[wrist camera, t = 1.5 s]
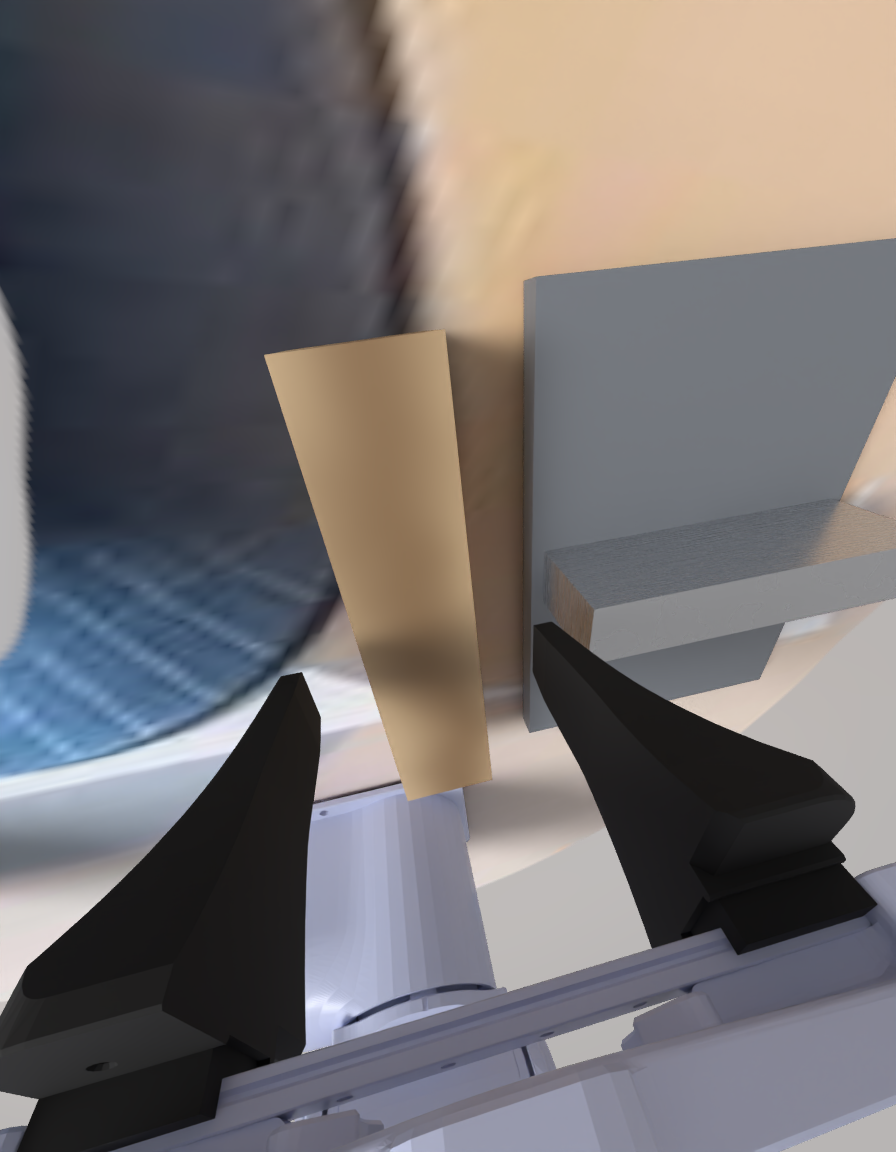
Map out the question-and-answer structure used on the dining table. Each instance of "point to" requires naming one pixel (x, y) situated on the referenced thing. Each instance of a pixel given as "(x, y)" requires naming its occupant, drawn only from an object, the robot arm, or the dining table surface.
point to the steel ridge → (720, 577)
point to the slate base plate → (695, 414)
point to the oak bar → (396, 539)
